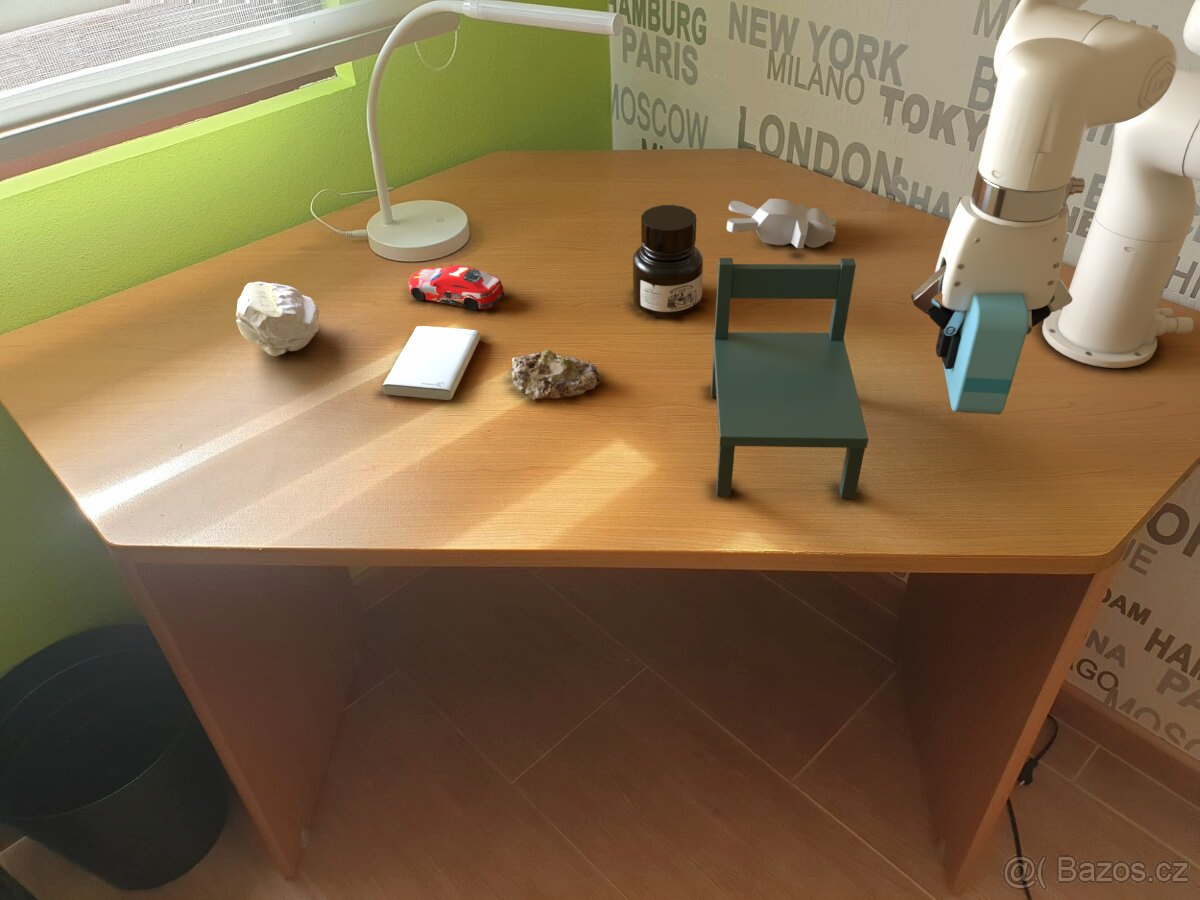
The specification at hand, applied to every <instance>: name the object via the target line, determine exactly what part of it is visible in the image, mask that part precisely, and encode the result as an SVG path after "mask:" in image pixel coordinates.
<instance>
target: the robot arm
mask: <svg viewBox="0 0 1200 900" xmlns="http://www.w3.org/2000/svg"><path fill="white" fill-rule="evenodd" d="M1087 1H1088V0H1020V1H1019V3H1018V4H1017V5H1016V7H1015V9H1014V10H1013V12H1012V13H1011V15H1010V17H1009V18H1008V20H1007V22H1006V24H1005V26H1004V28H1003V29H1002V32H1001V34H1000V35H999V38H998V41H997V43H996V45H995V50H994V54H993V70H994V71H993V72H994V75H995V77H996V79H997V82H996V88H995V91H994V97H993V101H992V103H991V109H990V113H989V118H988V122H987V126H986V132H985V135H984V140H983V144H982V149H981V153H980V156H979V157H980V158H979V162H978V166H977V171H976V175H975V180H974V183H973V188H972V192H971V194H969V195H964V196H962V198H961V199H960V200H959V203H958V205H957V206H956V209H955V211H954V213H953V215H952V218H951V220H950V223H949V225H948V228H947V231H946V233H945V237H944V240H943V243H942V245H941V249H940V252H939V255H938V259H937V263H936V266H935V270H934V273H933V274H932V275H931V276H930V277H929V278H927V279H926V280H925V281H924V282H923V283H922V284H921V285H920V286H918V287H917V288H916V289H915V290H914V291H913V292H912V293H911V295H910V298H911V300H912V303H913V305H914V306H915V308H917V309H918V310H920V311H921V312H923V313H924V314H926V315H928V316H929V318H930V319H931V321H933V322H934V323H935V324H936V326H938V327H939V331H938V336H937V340H936V344H935V353H936V356H937V358H941V361H942V364H944V365H943V367H944V366H945V369H952V368H953V367H954V363H955V359H956V355H957V351H958V347H959V343H960V334H959V331H958V329H959V327H960V325H961V323H962V322H963V320H964V318H965V317H966V313H967V311H968V310H969V308H970V305H971V302H972V298H973V296H974V295H975V294H1023V295H1024V298H1025V301H1026V304H1027V307H1028V311H1029V325H1028V330H1027V334H1026V336H1027V335H1029V334H1031V333H1032V331H1033V328H1034V327H1035V326H1036V325H1038V324H1040V323H1041V322H1043V323H1042V326H1041V328H1042V329H1041V330H1042V331H1041V332H1042V336H1043V337H1044V339H1045V340H1046V341H1047V343H1048V345H1050V346H1051V347H1052V348H1054V350H1055V351H1057V352H1059V353H1060V354H1062V355H1063V356H1065V357H1067V358H1069V359H1071V360H1074V361H1077V362H1079V363H1083V364H1086V365H1090V366H1093V367H1099V368H1108V369H1109V368H1110V369H1124V368H1133V367H1136V366H1139V365H1142V364H1145V363H1147V361H1150V359H1151V358H1152V357H1153V356H1154V354H1155V352H1156V349H1157V347H1158V338H1157V337H1162V336H1163V335H1164V334H1167V333H1169V334H1190V333H1192V331H1193V329H1194V319H1193V318H1192V317H1190V316H1173V315H1174V310H1173V308H1171V307H1159V308H1158V306H1159V303H1160V301H1161V299H1162V297H1163V294H1164V292H1165V289H1166V287H1167V284H1168V281H1169V280H1170V277H1171V274H1172V272H1173V270H1174V268H1175V265H1176V262H1177V260H1178V258H1179V255H1180V253H1181V250H1182V248H1183V245H1184V244H1185V241H1186V238H1187V236H1188V233H1189V231H1190V229H1191V227H1192V224H1193V222H1194V218H1195V214H1196V210H1197V209H1196V207H1197V198H1196V191H1195V186H1194V182H1193V180H1195V181H1198V182H1200V71H1197V70H1192V69H1187V68H1178V62H1179V61H1178V57H1179V56H1178V51H1177V48H1176V47H1177V46H1176V45H1175V44H1174V42H1173V40H1172V39H1171V38H1170V37H1168V35H1166V34H1165V33H1163V32H1162V31H1160V30H1158V29H1155V28H1153V27H1149V26H1146V25H1142V24H1138V23H1134V22H1129V21H1126V20H1125V21H1124V20H1120V19H1117V18H1113V17H1111V16H1107V15H1103V14H1099V13H1094V12H1090V11H1085V10H1081V9H1079V8H1081V7H1082V5H1084V4H1086V2H1087ZM1182 39H1183V43H1184V45H1185V47H1186V48H1187V49H1188V50H1189V51H1190V52H1191V53H1193V54H1195V55H1196V56H1199V57H1200V0H1194V2H1193V4H1192V6H1191V8H1190V11H1189V14H1188V15H1187V18H1186V21H1185V23H1184V27H1183V32H1182ZM1113 125H1115V126H1114V134H1113V140H1112V149H1111V154H1110V160H1109V166H1108V169H1107V174H1106V177H1105V181H1104V183H1103V184H1104V185H1103V186H1102V190H1101V193H1100V196H1099V200H1098V203H1097V205H1096V208H1095V212H1094V214H1093V217H1092V220H1091V223H1090V225H1089V228H1088V232H1087V235H1086V237H1085V241H1084V244H1083V247H1082V249H1081V252H1080V256H1079V259H1078V262H1077V264H1076V267H1075V271H1074V273H1073V276H1072V280H1071V282H1070V285H1069V288H1068V287H1066V285H1065V283H1064V282H1063V280H1062V278H1061V277H1060V274H1061V270H1062V265H1063V262H1064V261H1063V260H1064V257H1065V249H1066V240H1067V231H1068V217H1069V213H1068V212H1069V210H1068V208H1067V206H1066V205H1067V201H1068V198H1069V197H1070V196H1074V194H1075V195H1077V194H1078V195H1079V194H1083V192H1084V191H1085V184H1086V182H1085V179H1084V177H1075V176H1073V174H1074V170H1075V167H1076V163H1077V160H1078V156H1079V153H1080V149H1081V146H1082V143H1083V139H1084V136H1085V133H1086V131H1088V130H1089V129H1090V130H1091V129H1094V128H1100V127H1105V126H1113ZM940 293H941V294H942V297H941V298H942V299H941V303H942V304H941V303H940V302H939V301H938V300H936V299H934V298H935V297H936V296H937V295H939V294H940Z"/></svg>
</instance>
